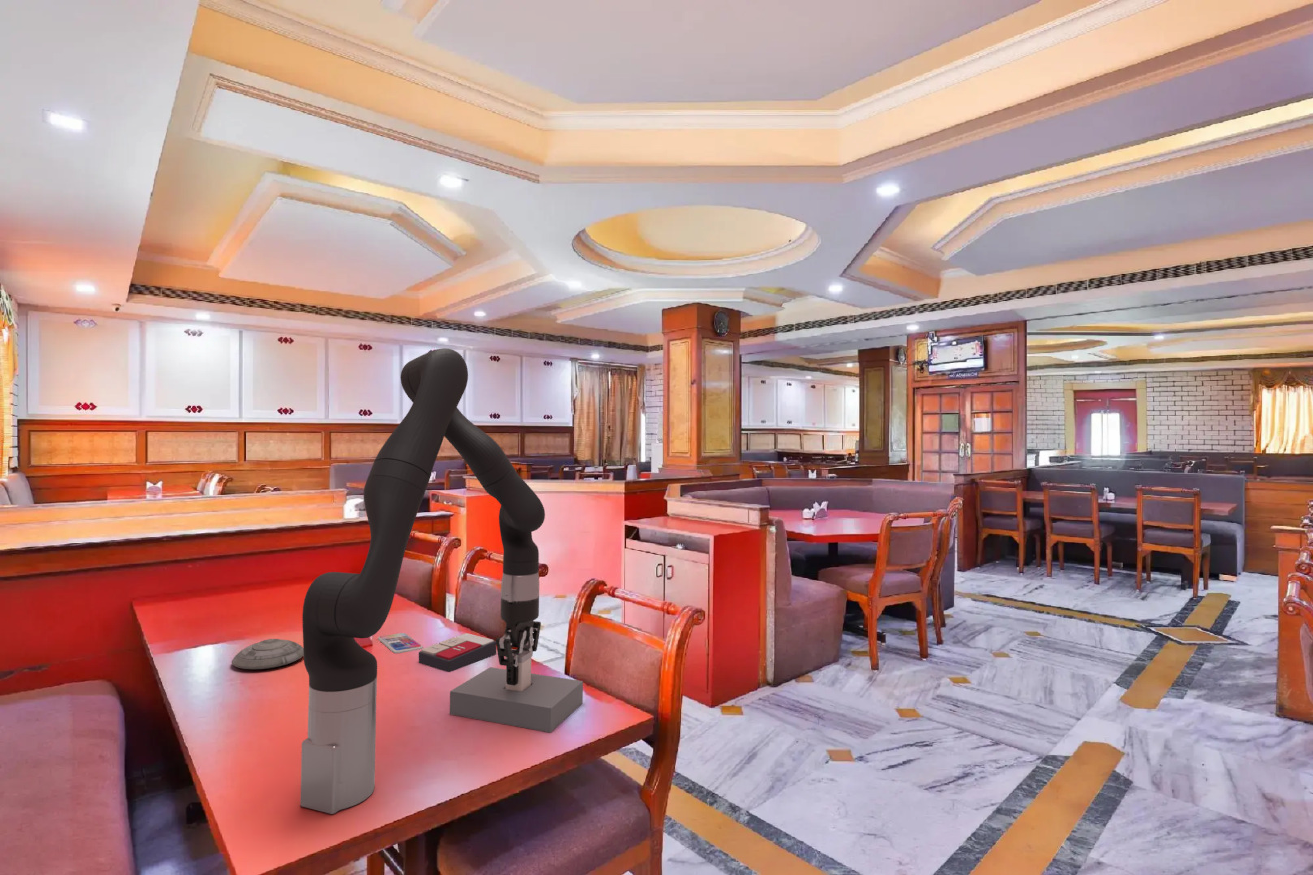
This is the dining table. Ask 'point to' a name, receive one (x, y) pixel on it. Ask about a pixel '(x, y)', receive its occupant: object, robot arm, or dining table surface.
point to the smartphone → (400, 643)
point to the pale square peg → (522, 672)
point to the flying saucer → (268, 654)
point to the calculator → (457, 652)
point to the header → (517, 700)
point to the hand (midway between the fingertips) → (518, 679)
